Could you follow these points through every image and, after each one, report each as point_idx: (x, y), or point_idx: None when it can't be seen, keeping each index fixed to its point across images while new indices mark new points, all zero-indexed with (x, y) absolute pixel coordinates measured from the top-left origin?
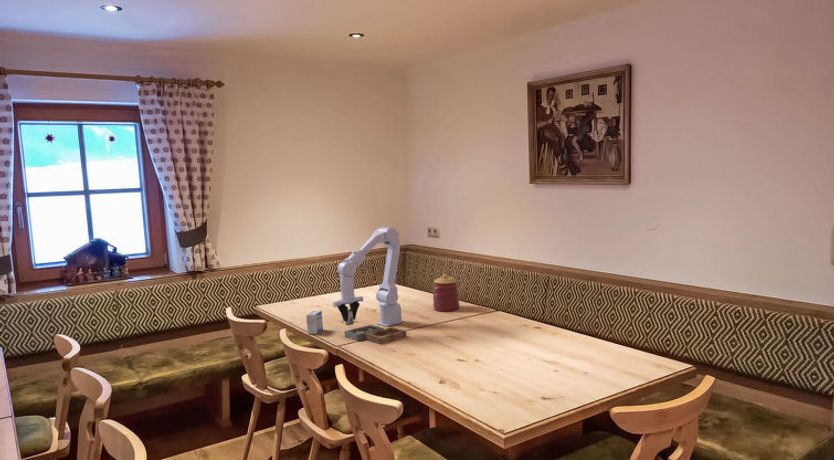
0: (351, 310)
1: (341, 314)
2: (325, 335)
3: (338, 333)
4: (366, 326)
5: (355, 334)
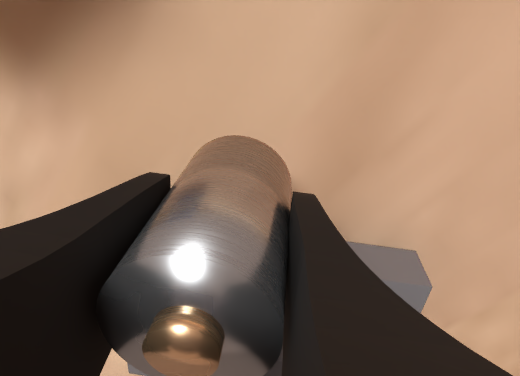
0: (228, 366)
1: (68, 208)
2: (3, 21)
3: (144, 81)
4: None
5: None
